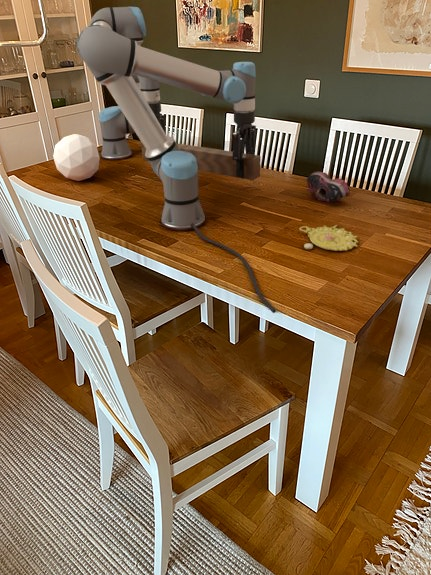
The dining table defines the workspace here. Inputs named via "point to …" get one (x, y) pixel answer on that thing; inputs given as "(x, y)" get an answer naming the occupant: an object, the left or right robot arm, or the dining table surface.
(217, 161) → the beam
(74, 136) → the sphere
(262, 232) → the dining table surface
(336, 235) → the decorative object
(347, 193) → the athletic shoe
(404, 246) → the dining table surface
